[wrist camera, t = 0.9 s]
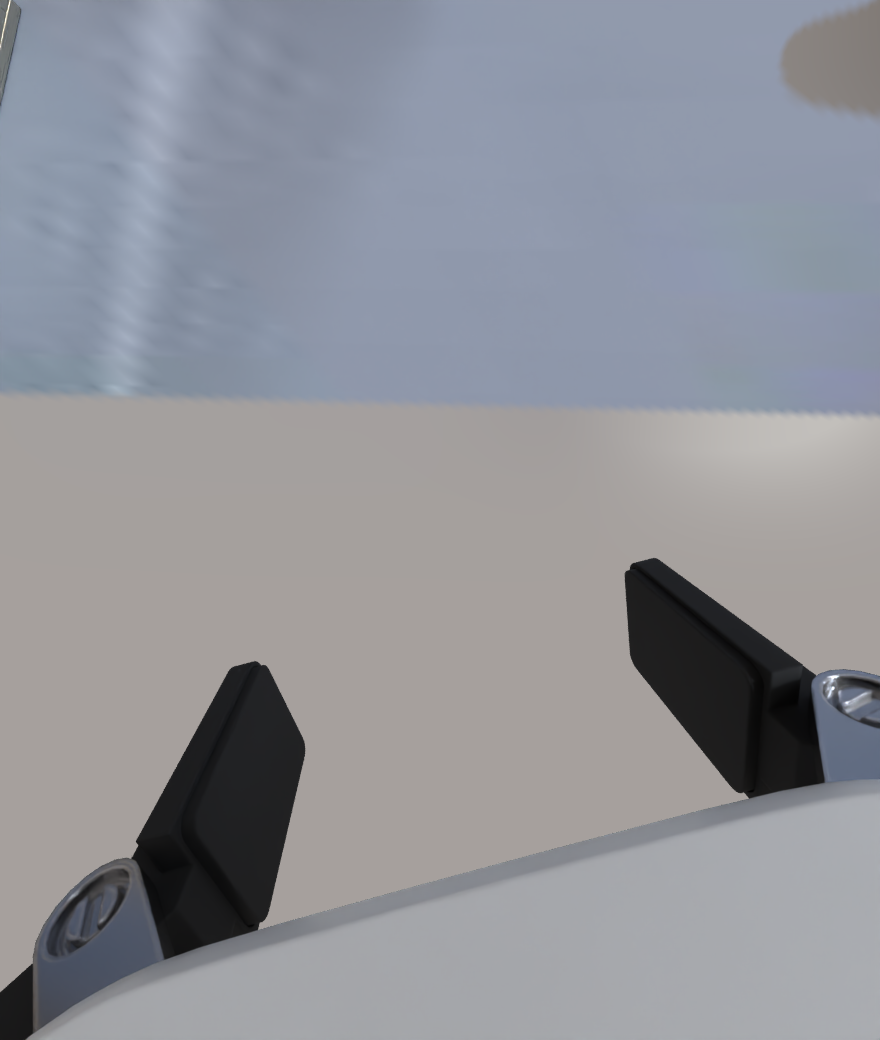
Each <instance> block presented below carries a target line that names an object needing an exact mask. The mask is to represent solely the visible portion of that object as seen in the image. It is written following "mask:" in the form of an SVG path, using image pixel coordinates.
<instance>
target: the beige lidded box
mask: <svg viewBox="0 0 880 1040" xmlns="http://www.w3.org/2000/svg"><path fill="white" fill-rule="evenodd" d="M20 12H21V9H20V7H19V6H18V5H17V4H16V3H15V2H14V1H13V0H0V104H1V99H2V95H3V90H4V86H5V81H6V76H7V72H8V67H9V62H10V58H11V53H12V49H13V44H14V39H15V35H16V30H17V26H18V21H19V16H20Z"/></svg>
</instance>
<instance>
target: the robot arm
mask: <svg viewBox="0 0 880 1040" xmlns="http://www.w3.org/2000/svg"><path fill="white" fill-rule="evenodd" d="M625 588H626V602H627V616H628V632H629V646H630V656H631V659H632V662H633V664H634V666H635V667H636V669H637V670H638V671H639V673H640V674H641V675H642V676H643V678H644V679H645V680H646V681H647V682H648V684H649V685H650V686H651V687H652V689H653V690H654V691H655V692H656V694H657V695H658V696H659V697H660V699H661V700H662V701H663V702H664V704H665V705H666V706H667V707H668V709H669V710H670V711H671V712H672V714H673V715H674V716H675V717H676V719H677V720H678V721H679V722H680V724H681V725H682V726H683V727H684V729H685V730H686V731H687V732H688V733H689V735H690V736H691V737H692V739H693V740H694V741H695V742H696V744H697V745H698V746H699V747H700V748H701V750H702V751H703V752H704V754H705V755H706V756H707V757H708V759H709V760H710V761H711V762H712V764H713V765H714V766H715V767H716V769H717V770H718V771H719V772H720V774H721V775H722V776H723V777H724V778H725V780H726V781H727V782H728V784H729V785H730V786H731V787H732V788H733V789H734V790H735V791H736V792H738V793H743V792H744V793H745V794H746V795H747V796H748V798H749V799H746V800H742V801H738V802H733V803H729V804H725V805H721V806H717V807H713V808H708V809H704V810H700V811H696V812H692V813H689V814H685V815H681V816H677V817H673V818H669V819H666V820H662V821H658V822H654V823H650V824H647V825H643V826H639V827H635V828H632V829H628V830H624V831H620V832H616V833H612V834H608V835H605V836H601V837H597V838H593V839H589V840H586V841H582V842H578V843H574V844H571V845H567V846H563V847H559V848H556V849H552V850H549V851H544V852H541V853H537V854H533V855H529V856H526V857H522V858H518V859H515V860H511V861H507V862H503V863H500V864H496V865H492V866H488V867H485V868H481V869H477V870H474V871H470V872H466V873H463V874H459V875H455V876H451V877H448V878H444V879H440V880H437V881H433V882H429V883H426V884H422V885H418V886H414V887H411V888H407V889H404V890H400V891H396V892H393V893H389V894H385V895H382V896H378V897H375V898H371V899H367V900H364V901H360V902H356V903H353V904H349V905H345V906H342V907H339V908H335V909H331V910H327V911H324V912H320V913H316V914H313V915H309V916H306V917H302V918H298V919H295V920H291V921H288V922H284V923H281V924H277V925H274V926H270V927H267V928H264V929H260V930H258V927H259V923H260V922H263V921H264V920H265V919H266V917H267V915H268V912H269V908H270V904H271V900H272V895H273V891H274V886H275V882H276V878H277V873H278V869H279V865H280V860H281V856H282V852H283V848H284V843H285V839H286V835H287V830H288V826H289V822H290V817H291V813H292V808H293V804H294V800H295V796H296V791H297V787H298V783H299V778H300V774H301V770H302V765H303V761H304V757H305V743H304V740H303V737H302V735H301V733H300V731H299V730H298V727H297V725H296V723H295V721H294V719H293V717H292V715H291V713H290V711H289V709H288V707H287V705H286V703H285V701H284V699H283V697H282V695H281V693H280V691H279V689H278V687H277V685H276V683H275V681H274V679H273V677H272V675H271V673H270V671H269V669H268V667H267V666H266V665H262V666H261V665H260V664H259V663H258V662H256V661H254V662H250V663H246V664H242V665H239V666H234V667H232V668H231V669H230V670H229V672H228V674H227V675H226V677H225V679H224V681H223V683H222V685H221V686H220V688H219V690H218V692H217V694H216V696H215V697H214V699H213V701H212V703H211V705H210V706H209V708H208V710H207V712H206V714H205V716H204V718H203V719H202V721H201V723H200V725H199V727H198V729H197V730H196V732H195V734H194V736H193V738H192V739H191V741H190V743H189V745H188V747H187V749H186V751H185V752H184V754H183V756H182V758H181V760H180V761H179V763H178V765H177V767H176V769H175V771H174V772H173V774H172V776H171V778H170V780H169V782H168V783H167V785H166V787H165V789H164V791H163V793H162V794H161V796H160V798H159V800H158V802H157V804H156V806H155V807H154V810H153V811H152V813H151V815H150V816H149V819H148V820H147V822H146V824H145V826H144V828H143V829H142V831H141V833H140V835H139V837H138V838H137V840H136V843H137V844H138V847H137V849H136V851H135V853H134V855H133V857H132V858H131V859H129V858H122V859H116V860H114V861H111V862H109V863H107V864H105V865H102V866H101V867H99V868H98V869H96V870H95V871H93V872H92V873H90V874H89V875H87V876H86V877H85V878H84V879H83V880H82V881H80V882H79V883H78V884H77V885H76V886H75V887H74V888H73V889H72V890H70V892H69V893H68V894H67V895H66V896H65V897H64V898H63V900H61V902H60V903H59V904H58V905H57V906H56V907H55V909H54V910H53V912H52V913H51V915H50V916H49V918H48V919H47V921H46V922H45V924H44V925H43V927H42V929H41V932H40V934H39V936H38V938H37V940H36V943H35V948H34V954H33V964H31V965H30V966H29V967H28V968H27V969H26V970H25V971H24V972H22V973H21V974H20V975H19V976H18V977H17V978H16V979H15V980H14V981H12V982H11V983H10V984H9V985H8V986H7V987H6V988H5V989H4V990H2V991H1V992H0V1040H880V676H877V675H874V674H870V673H866V672H862V671H855V670H845V669H842V670H829V671H826V672H823V673H820V674H818V675H817V676H816V675H815V674H814V673H812V672H811V671H809V670H808V669H807V668H805V667H804V666H803V665H802V664H801V663H800V662H798V661H797V660H795V659H794V658H793V657H791V656H790V655H789V654H787V653H786V652H784V651H783V650H782V649H780V648H779V647H778V646H776V645H775V644H774V643H772V642H771V641H769V640H768V639H766V638H765V637H764V636H762V635H761V634H760V633H758V632H757V631H756V630H754V629H753V628H752V627H750V626H749V625H747V624H746V623H745V622H743V621H742V620H741V619H739V618H738V617H737V616H735V615H734V614H732V613H731V612H730V611H728V610H727V609H726V608H724V607H723V606H721V605H720V604H719V603H717V602H716V601H715V600H713V599H712V598H711V597H709V596H708V595H706V594H705V593H704V592H702V591H701V590H699V589H698V588H697V587H695V586H694V585H692V584H691V583H690V582H689V581H687V580H686V579H684V578H683V577H682V576H680V575H679V574H678V573H676V572H675V571H673V570H672V569H671V568H669V567H668V566H667V565H665V564H664V563H663V562H661V561H660V560H658V559H656V558H652V559H648V560H644V561H640V562H636V563H633V564H632V565H631V566H630V570H628V571H626V572H625Z"/></svg>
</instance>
